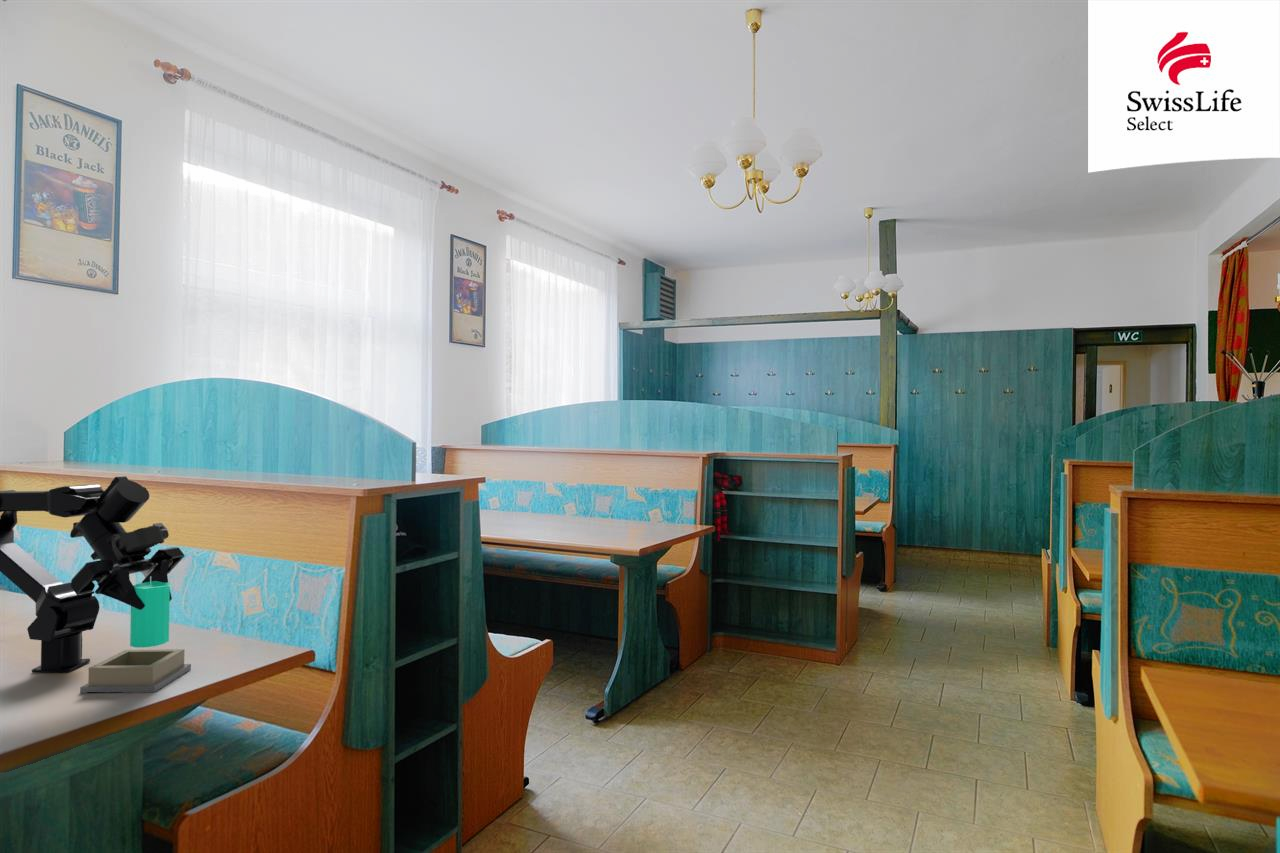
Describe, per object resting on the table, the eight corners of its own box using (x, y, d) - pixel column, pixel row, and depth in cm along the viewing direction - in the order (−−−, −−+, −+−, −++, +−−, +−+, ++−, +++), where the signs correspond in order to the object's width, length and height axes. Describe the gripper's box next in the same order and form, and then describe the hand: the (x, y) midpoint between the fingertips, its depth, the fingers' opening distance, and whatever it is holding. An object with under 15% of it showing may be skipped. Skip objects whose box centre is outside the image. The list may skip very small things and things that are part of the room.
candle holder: (154, 692, 126) (155, 668, 126) (80, 693, 125) (80, 669, 125) (190, 669, 138) (191, 647, 138) (122, 670, 137) (123, 648, 137)
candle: (150, 648, 130) (151, 581, 130) (121, 645, 131) (122, 578, 131) (177, 638, 136) (178, 574, 136) (149, 636, 137) (150, 571, 137)
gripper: (86, 515, 126) (137, 585, 123) (178, 505, 144) (224, 566, 141) (48, 559, 127) (97, 628, 125) (143, 543, 146) (188, 603, 143)
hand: (156, 604), depth 133 cm, fingers closed on candle, 5 cm apart
